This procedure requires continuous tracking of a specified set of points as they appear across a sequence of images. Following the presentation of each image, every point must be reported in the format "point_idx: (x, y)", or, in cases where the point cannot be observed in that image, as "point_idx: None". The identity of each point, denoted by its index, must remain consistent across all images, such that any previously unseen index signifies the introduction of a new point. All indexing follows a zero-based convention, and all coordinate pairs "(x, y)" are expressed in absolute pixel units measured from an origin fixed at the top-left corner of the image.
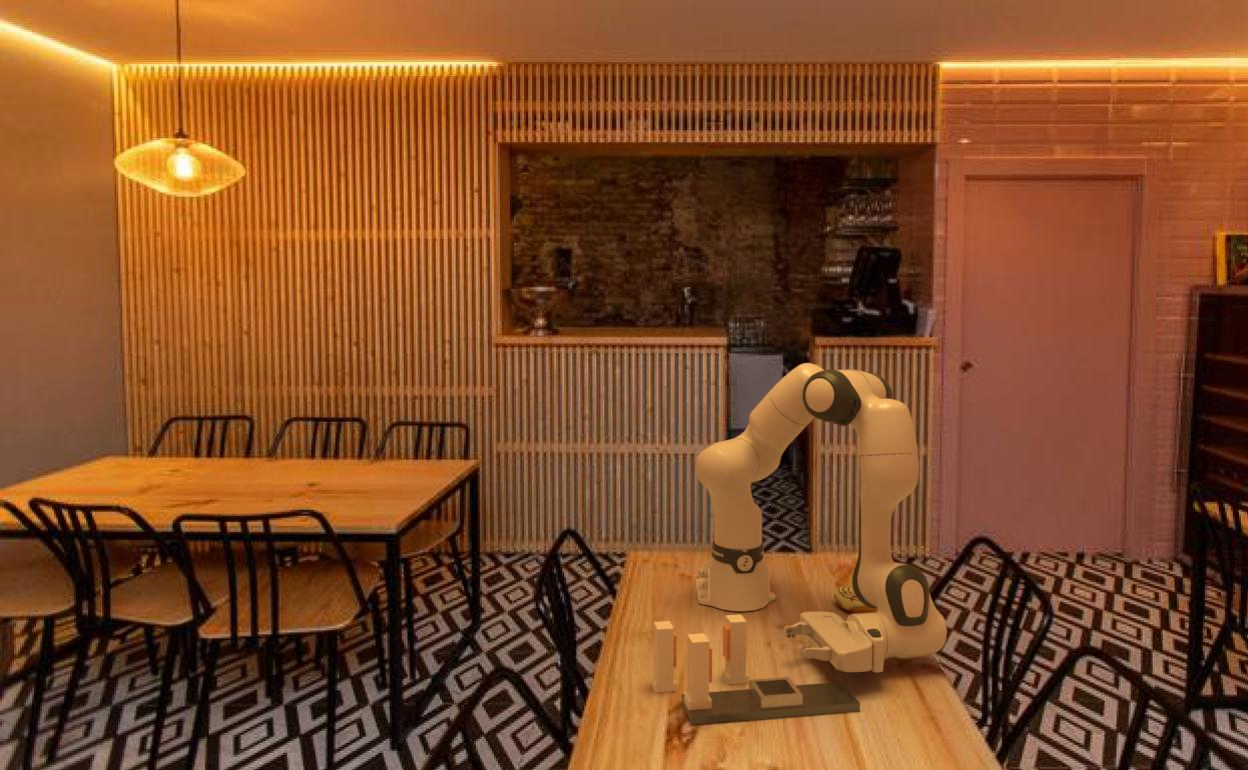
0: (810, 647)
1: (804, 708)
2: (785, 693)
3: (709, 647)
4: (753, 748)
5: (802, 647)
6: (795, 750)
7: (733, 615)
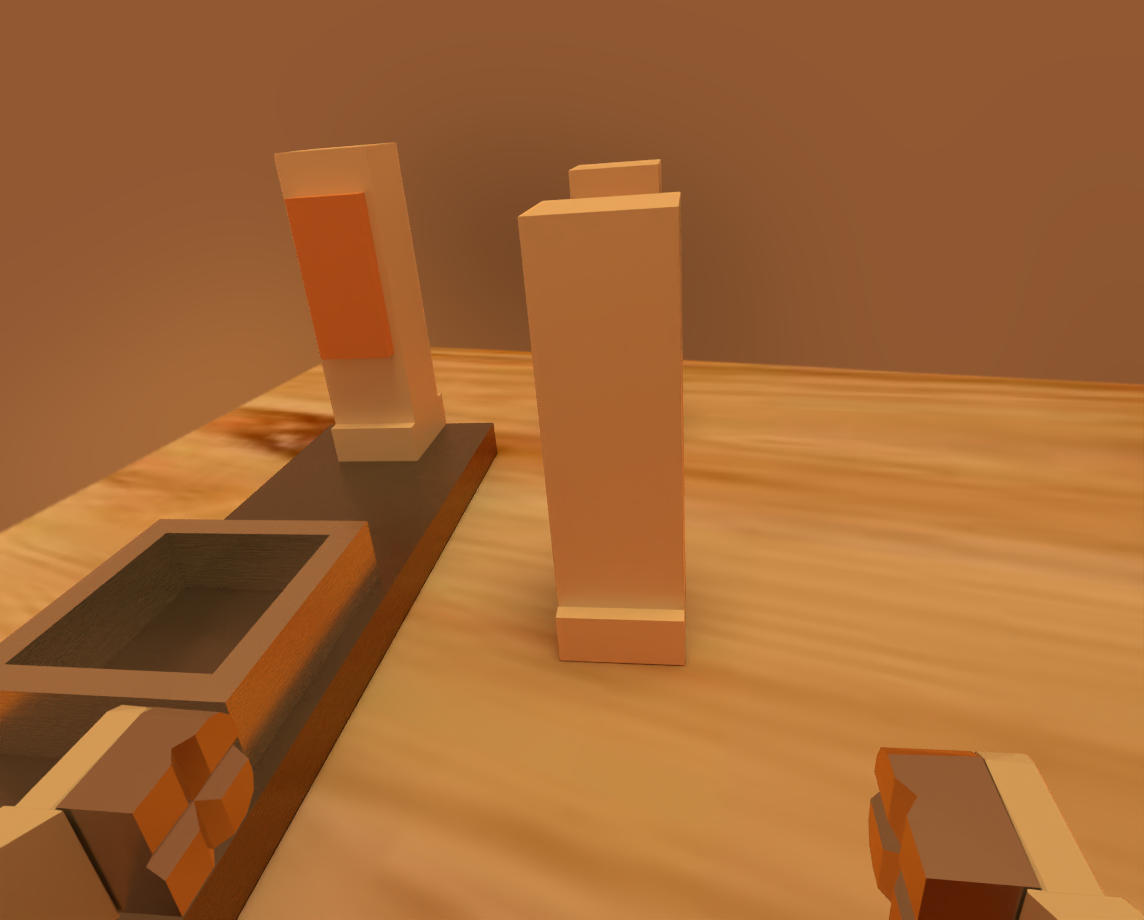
0: (91, 776)
1: None
2: None
3: (304, 196)
4: (55, 540)
5: (221, 715)
6: None
7: (668, 199)
